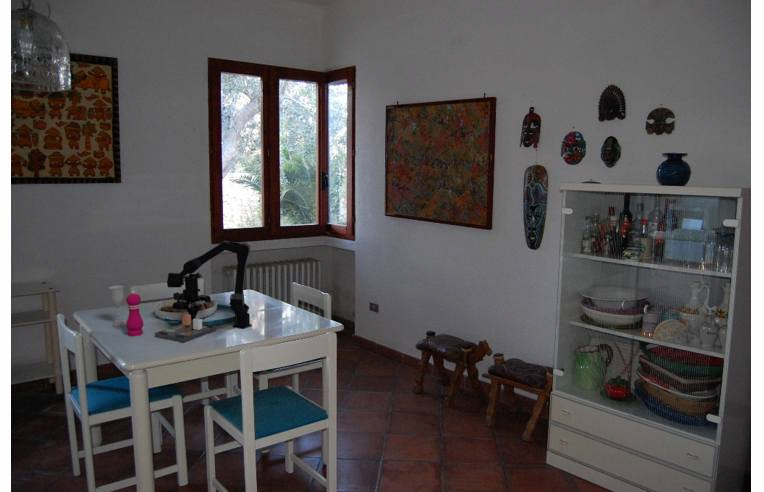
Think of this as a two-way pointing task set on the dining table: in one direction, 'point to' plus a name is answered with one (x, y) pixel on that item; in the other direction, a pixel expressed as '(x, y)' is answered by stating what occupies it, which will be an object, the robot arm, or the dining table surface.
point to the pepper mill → (134, 315)
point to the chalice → (117, 301)
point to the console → (184, 332)
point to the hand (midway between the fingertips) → (192, 320)
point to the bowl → (167, 310)
